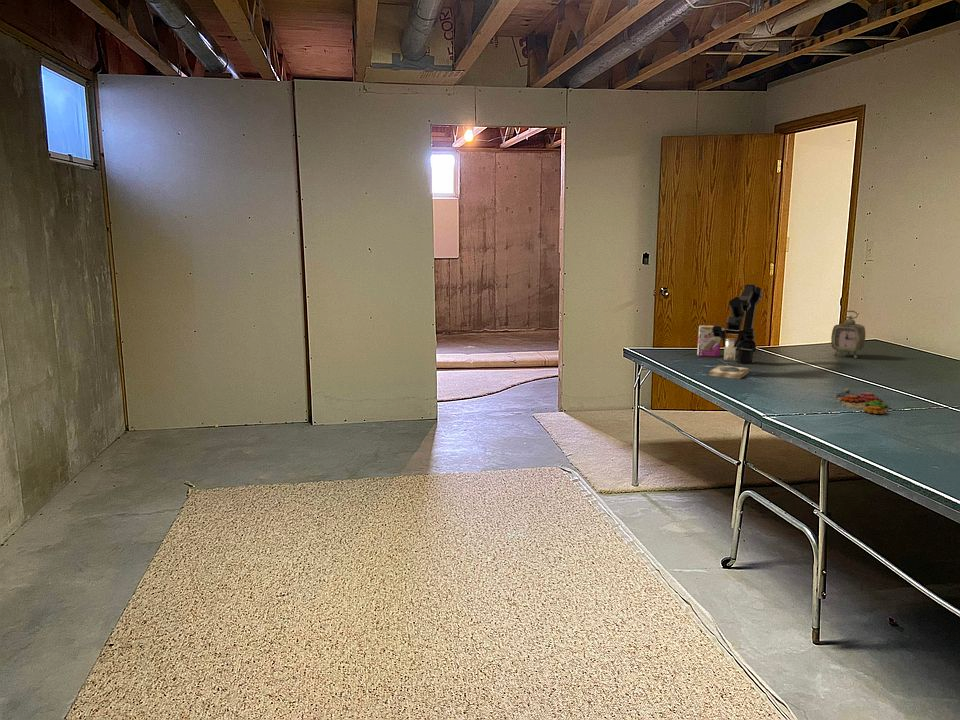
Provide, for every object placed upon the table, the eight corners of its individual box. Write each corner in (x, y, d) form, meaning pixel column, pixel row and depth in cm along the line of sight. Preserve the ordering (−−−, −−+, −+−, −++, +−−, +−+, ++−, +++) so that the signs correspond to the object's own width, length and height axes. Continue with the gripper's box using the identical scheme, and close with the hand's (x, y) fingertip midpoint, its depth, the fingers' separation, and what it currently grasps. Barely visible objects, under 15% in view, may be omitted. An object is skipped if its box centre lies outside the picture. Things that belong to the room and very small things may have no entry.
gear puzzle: (898, 418, 256) (899, 407, 255) (850, 415, 260) (851, 404, 259) (874, 398, 286) (875, 388, 285) (831, 396, 290) (832, 386, 289)
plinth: (748, 372, 335) (748, 367, 334) (739, 379, 320) (740, 373, 320) (718, 369, 342) (719, 364, 342) (708, 375, 328) (709, 370, 327)
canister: (727, 358, 334) (728, 337, 332) (736, 359, 330) (738, 339, 328) (721, 359, 330) (723, 338, 329) (731, 361, 327) (732, 340, 325)
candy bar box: (698, 356, 376) (700, 326, 373) (696, 354, 381) (698, 325, 378) (719, 356, 375) (721, 326, 372) (717, 355, 380) (719, 325, 377)
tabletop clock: (829, 356, 377) (833, 310, 372) (836, 353, 383) (840, 308, 378) (858, 359, 366) (862, 312, 362) (864, 357, 372) (869, 311, 368)
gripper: (714, 308, 334) (706, 334, 327) (755, 311, 324) (748, 337, 317) (718, 323, 342) (710, 348, 335) (757, 325, 332) (750, 352, 325)
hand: (729, 346), depth 328 cm, fingers closed on canister, 5 cm apart
